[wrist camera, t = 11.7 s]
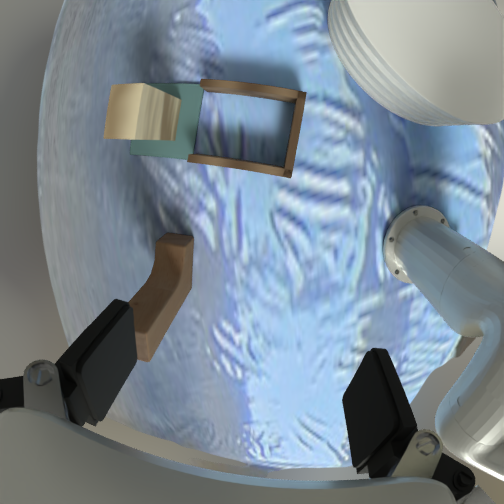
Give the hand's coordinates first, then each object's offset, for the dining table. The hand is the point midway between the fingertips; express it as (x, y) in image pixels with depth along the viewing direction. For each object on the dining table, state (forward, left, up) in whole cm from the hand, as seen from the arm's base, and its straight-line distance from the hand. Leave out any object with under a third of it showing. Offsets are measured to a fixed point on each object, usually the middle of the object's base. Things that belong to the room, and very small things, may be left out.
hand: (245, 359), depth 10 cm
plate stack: (-18, -31, -31) cm, 47 cm away
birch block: (+16, -10, -30) cm, 35 cm away
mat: (+17, -10, -30) cm, 36 cm away
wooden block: (+12, +11, -30) cm, 35 cm away
